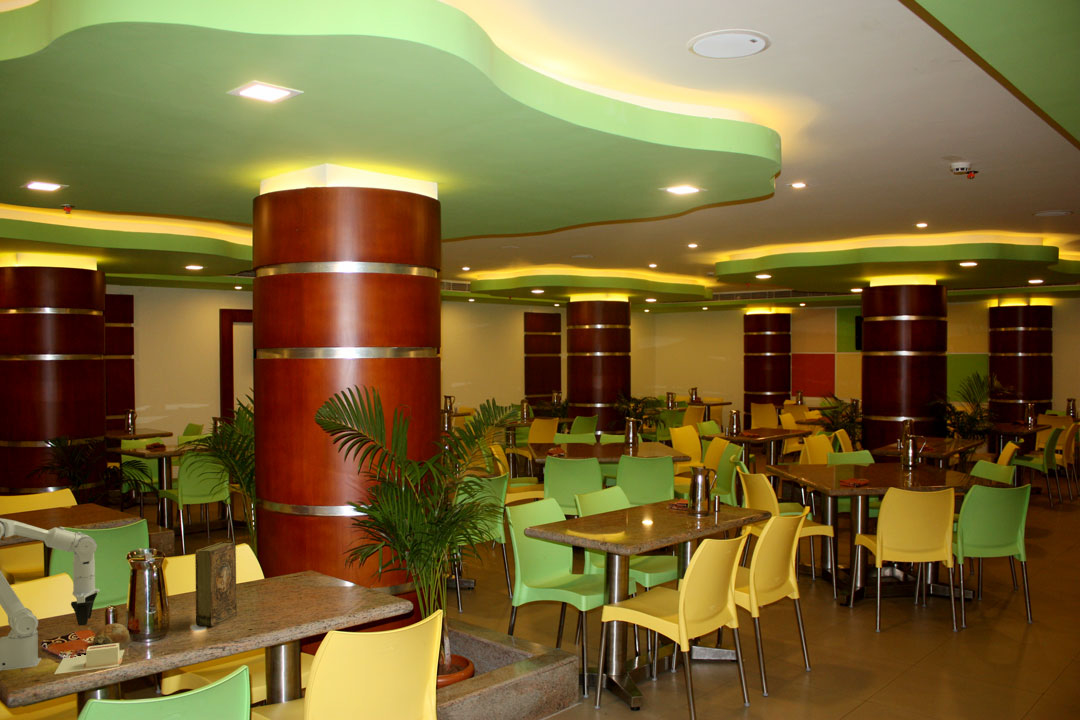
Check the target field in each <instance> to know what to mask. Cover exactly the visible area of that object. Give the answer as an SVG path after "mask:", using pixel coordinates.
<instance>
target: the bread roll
mask: <svg viewBox="0 0 1080 720" xmlns="http://www.w3.org/2000/svg"><path fill="white" fill-rule="evenodd" d="M130 639H131V638H130V631H129V630H128V629H127V628H126V627H125V625H123V624H121V623H117V622H116V623H114V622H113V623H108V624H105V625H104V626H102V627H101V628H100V629H99V630H98V631H96V633H95V634H94V637H93V641H92V643H93V646H98V645H106V644H114V643H119V646H120V645H123V644H126V643H127V642H129V641H130Z"/></svg>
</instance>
